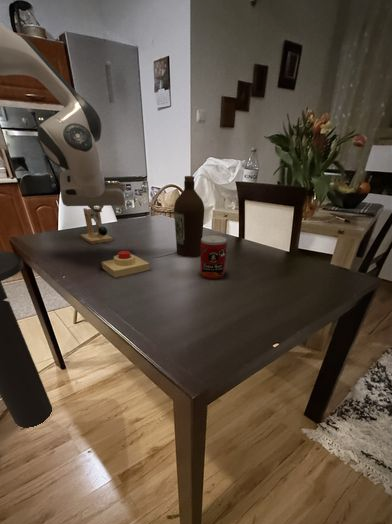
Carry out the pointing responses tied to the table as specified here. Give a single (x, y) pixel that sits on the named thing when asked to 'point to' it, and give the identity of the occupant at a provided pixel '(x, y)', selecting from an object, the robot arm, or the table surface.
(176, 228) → the olive oil
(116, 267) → the button block
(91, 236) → the bracket
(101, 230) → the lever
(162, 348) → the table surface
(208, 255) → the canned food
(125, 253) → the button
